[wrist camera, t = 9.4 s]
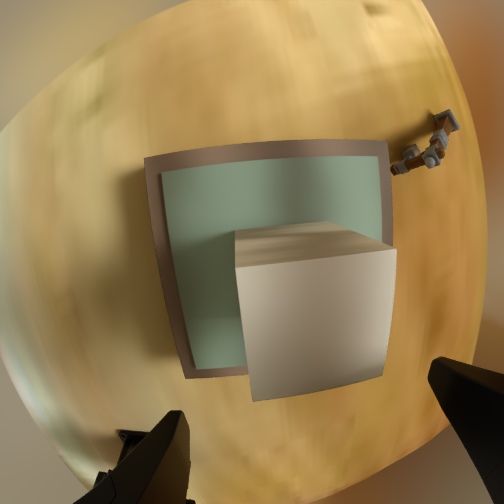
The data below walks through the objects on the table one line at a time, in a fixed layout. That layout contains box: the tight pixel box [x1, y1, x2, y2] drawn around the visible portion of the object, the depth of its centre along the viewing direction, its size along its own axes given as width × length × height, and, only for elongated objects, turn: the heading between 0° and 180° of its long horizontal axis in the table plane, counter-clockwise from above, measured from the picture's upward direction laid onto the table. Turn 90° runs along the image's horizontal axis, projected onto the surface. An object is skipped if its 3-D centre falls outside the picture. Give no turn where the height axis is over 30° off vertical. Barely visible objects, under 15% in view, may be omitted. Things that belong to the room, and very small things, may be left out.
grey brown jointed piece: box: [390, 109, 460, 176], centre depth 16 cm, size 2×8×4 cm, turn 130°
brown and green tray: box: [144, 139, 393, 379], centre depth 17 cm, size 14×14×3 cm
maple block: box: [235, 221, 397, 401], centre depth 12 cm, size 5×5×7 cm
